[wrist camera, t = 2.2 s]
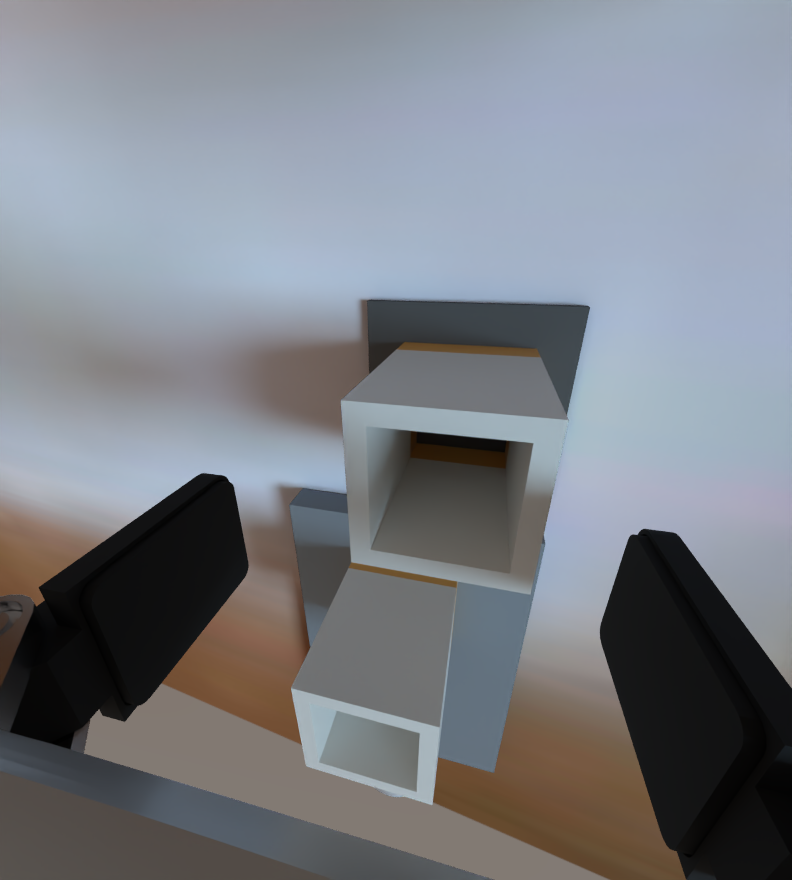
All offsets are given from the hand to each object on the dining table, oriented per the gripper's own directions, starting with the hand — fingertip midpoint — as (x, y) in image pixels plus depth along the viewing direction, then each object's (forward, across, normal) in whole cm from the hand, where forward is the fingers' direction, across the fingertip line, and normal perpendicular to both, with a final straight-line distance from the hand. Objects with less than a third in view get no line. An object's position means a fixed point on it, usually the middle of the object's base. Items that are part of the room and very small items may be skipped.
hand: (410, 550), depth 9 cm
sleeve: (+8, -1, -1) cm, 8 cm away
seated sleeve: (+7, +1, +9) cm, 12 cm away
